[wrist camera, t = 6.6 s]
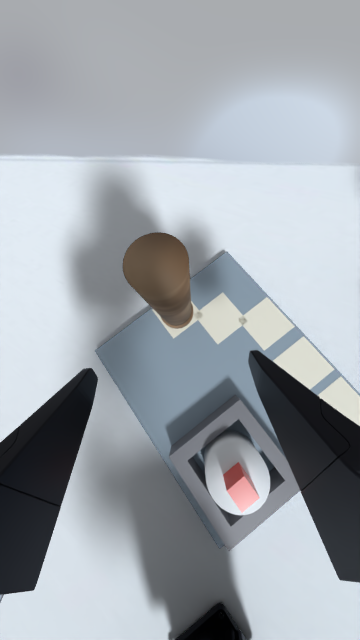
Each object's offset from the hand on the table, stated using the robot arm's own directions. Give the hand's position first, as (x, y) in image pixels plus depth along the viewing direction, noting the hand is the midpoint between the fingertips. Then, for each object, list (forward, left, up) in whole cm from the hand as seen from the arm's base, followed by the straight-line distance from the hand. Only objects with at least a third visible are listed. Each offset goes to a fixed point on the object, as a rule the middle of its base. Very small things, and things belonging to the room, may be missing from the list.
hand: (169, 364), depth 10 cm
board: (+2, -5, -12) cm, 13 cm away
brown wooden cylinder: (+3, +5, -11) cm, 12 cm away
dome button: (-2, -11, -10) cm, 16 cm away
